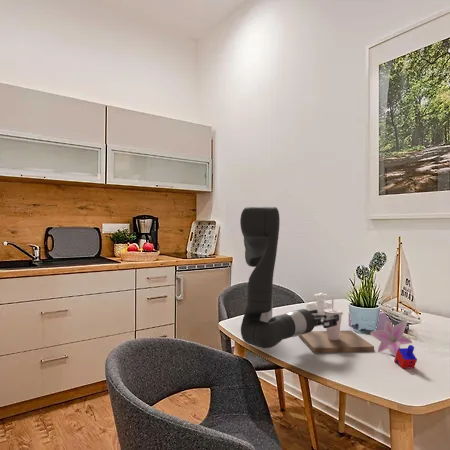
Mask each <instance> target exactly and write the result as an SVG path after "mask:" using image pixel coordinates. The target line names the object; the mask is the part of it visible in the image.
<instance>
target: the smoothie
mask: <svg viewBox="0 0 450 450" xmlns="http://www.w3.org/2000/svg"><path fill="white" fill-rule="evenodd" d="M334 301H335V300H334V297H331V304H332V309H325V310H324V314H325V315H326V316H331V315H334V314H339V321H337V326H333V327H329V328H325V329H326V330H325V331H327V338H328V339H329V340H338V339H339V332H340V331H341V322H342V316H343V315H344V314H343V313H344V312H343V310H341V309H337V308H334V303H335V302H334ZM327 319H328V318H327Z"/></svg>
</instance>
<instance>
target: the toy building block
mask: <svg viewBox="0 0 450 450" xmlns="http://www.w3.org/2000/svg"><path fill="white" fill-rule="evenodd" d="M414 349H415V347H414V346H413V345H412V344H408V347H406V348H405V347H404V348H403V347H400V348H398V351H397V354H396V357H395V356H394V361H393V362H394V363H395V364H399V366H400V368H401V369H414V368H415V367H416V363H417V360H418V359H417V357H416V355H415V354H414Z"/></svg>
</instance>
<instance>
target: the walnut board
mask: <svg viewBox="0 0 450 450" xmlns="http://www.w3.org/2000/svg"><path fill="white" fill-rule="evenodd" d="M298 337H299V338H300V339H301V341H302V342H303V341H304V342H305V343H306V344H305V345H306V346H307V347H308V348H309V349H310V351H312V353H313V354H321V353H322V354H323V353H326V354H328V353H329V354H330V353H357V352H358V353H359V352H375V346H374V345H373V344H371V343H370V342H368V341H367V340H366V339H365V338H362V337H361V336H360V335H359V334H357V333H356V332H354V331H353V330H351V329H349V330H340V332H339V339H338V340H329V339H328V338H327V330H320V331H314V330H312V331H311V332H309V333H306V334H303V335H299V336H298ZM304 342H303V343H304Z"/></svg>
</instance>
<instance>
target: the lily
mask: <svg viewBox="0 0 450 450" xmlns="http://www.w3.org/2000/svg"><path fill="white" fill-rule="evenodd" d="M407 324H408V323H407V321H401V323H399V324H397V325H395V326H394V327H393V326H392V325H391V324H390V323H389V322H388V321H387V320H386V322H385V326H384V330H376V331H370V335H371V336H372V337H373V338H375V339H376V340H378V341H379V342H380V343H379V345H378V347H377V348H378V349H377V352H378V353H380V352H383V351H386V350H387V349H388V350H389V352H390V353H391V354H392V355H393V357H394V358H395V357H396V354H397V351H398V348H401V346H402V345H403V346H404V345H411V344H412V343H413V341H412V340H411V339H410V338H408V337H406V336H405V335H404V334H405V330H406V328H407Z"/></svg>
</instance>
